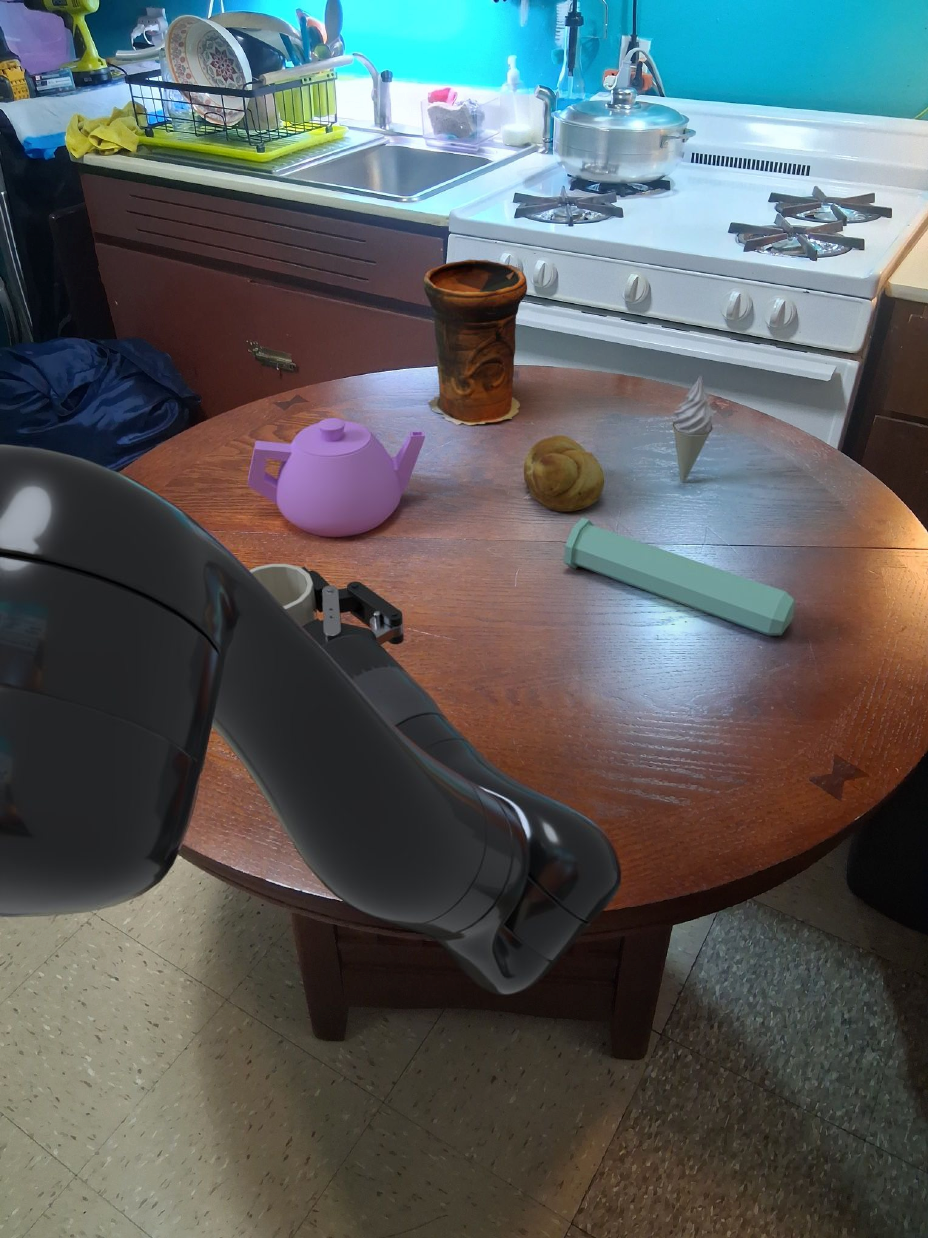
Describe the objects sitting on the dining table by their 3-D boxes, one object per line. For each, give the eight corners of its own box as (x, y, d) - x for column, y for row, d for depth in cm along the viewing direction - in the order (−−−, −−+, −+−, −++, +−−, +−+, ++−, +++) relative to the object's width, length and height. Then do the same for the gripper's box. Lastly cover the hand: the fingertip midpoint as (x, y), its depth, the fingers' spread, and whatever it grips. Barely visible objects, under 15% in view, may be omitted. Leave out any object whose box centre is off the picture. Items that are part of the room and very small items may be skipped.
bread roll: (511, 472, 118) (513, 417, 113) (580, 464, 119) (585, 410, 114) (537, 523, 108) (540, 465, 103) (611, 514, 110) (618, 457, 105)
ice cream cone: (656, 483, 115) (672, 375, 106) (675, 468, 118) (692, 362, 109) (690, 496, 113) (710, 386, 103) (709, 480, 116) (730, 372, 106)
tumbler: (298, 709, 68) (283, 620, 62) (235, 687, 70) (214, 598, 64) (338, 662, 72) (327, 574, 67) (277, 643, 74) (261, 556, 69)
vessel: (451, 438, 126) (448, 297, 113) (413, 398, 136) (407, 266, 123) (539, 418, 130) (546, 281, 118) (496, 382, 140) (499, 252, 128)
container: (806, 581, 88) (585, 507, 99) (784, 627, 86) (560, 547, 96) (799, 611, 93) (589, 537, 104) (778, 656, 91) (566, 576, 101)
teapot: (254, 553, 104) (236, 463, 96) (253, 486, 115) (238, 402, 108) (437, 532, 107) (434, 444, 99) (418, 470, 118) (414, 386, 111)
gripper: (459, 632, 59) (337, 521, 69) (263, 722, 52) (161, 585, 63) (460, 711, 63) (346, 596, 74) (280, 803, 57) (183, 663, 68)
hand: (261, 592), depth 68 cm, fingers closed on tumbler, 6 cm apart
